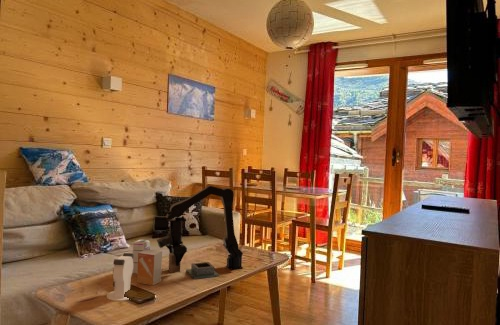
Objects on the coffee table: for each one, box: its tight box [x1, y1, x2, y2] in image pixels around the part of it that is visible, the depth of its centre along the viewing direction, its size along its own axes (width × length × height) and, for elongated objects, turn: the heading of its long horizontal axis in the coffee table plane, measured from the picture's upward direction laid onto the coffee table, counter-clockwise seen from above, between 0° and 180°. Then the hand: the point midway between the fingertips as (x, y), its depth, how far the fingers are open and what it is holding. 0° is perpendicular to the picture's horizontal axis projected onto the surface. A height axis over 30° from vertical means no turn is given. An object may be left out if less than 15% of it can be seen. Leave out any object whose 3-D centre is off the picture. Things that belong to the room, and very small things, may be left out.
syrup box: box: [132, 239, 151, 274], centre depth 169 cm, size 6×6×14 cm
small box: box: [136, 249, 163, 286], centre depth 156 cm, size 8×6×13 cm
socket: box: [186, 261, 220, 280], centre depth 170 cm, size 12×12×4 cm
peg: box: [168, 252, 181, 273], centre depth 173 cm, size 4×4×8 cm
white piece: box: [106, 252, 134, 302], centre depth 141 cm, size 12×11×15 cm
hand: (174, 263), depth 173 cm, fingers open, 9 cm apart
